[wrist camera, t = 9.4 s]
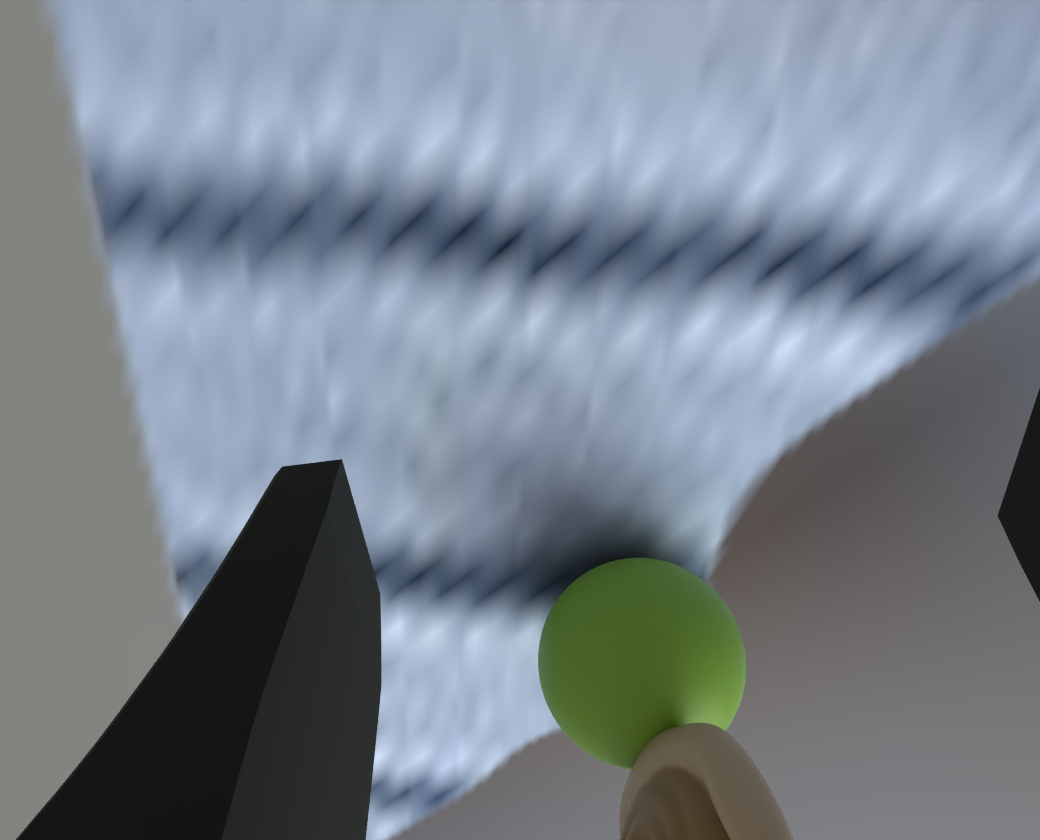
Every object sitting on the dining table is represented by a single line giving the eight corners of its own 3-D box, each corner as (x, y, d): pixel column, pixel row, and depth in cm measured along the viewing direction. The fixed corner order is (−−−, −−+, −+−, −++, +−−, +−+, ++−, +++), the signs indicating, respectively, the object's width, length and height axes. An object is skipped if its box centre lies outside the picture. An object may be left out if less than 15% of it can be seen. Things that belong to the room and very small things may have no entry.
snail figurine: (766, 511, 25) (978, 1001, 15) (666, 655, 28) (787, 1124, 19) (585, 471, 23) (695, 985, 14) (503, 628, 27) (546, 1122, 17)
